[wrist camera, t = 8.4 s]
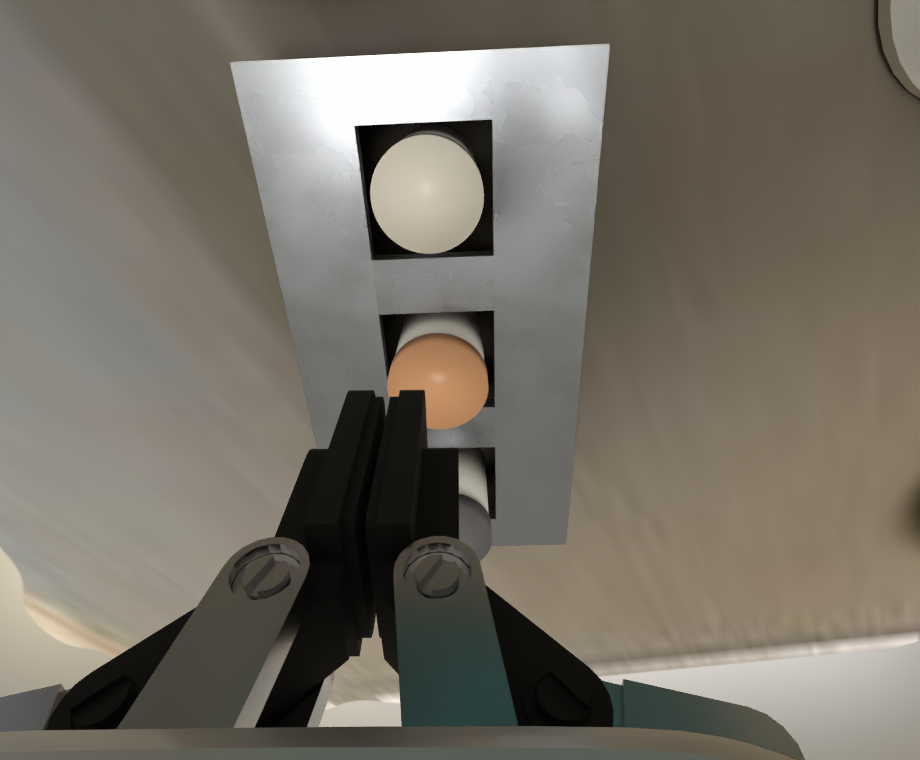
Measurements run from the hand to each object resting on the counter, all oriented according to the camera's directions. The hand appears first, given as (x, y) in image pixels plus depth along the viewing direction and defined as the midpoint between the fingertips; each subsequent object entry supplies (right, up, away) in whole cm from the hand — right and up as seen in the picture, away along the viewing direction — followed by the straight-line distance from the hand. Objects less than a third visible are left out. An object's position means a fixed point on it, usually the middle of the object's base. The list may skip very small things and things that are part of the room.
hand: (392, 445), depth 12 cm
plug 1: (0, +12, +15) cm, 19 cm away
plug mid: (0, +4, +17) cm, 18 cm away
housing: (+1, +5, +19) cm, 20 cm away
